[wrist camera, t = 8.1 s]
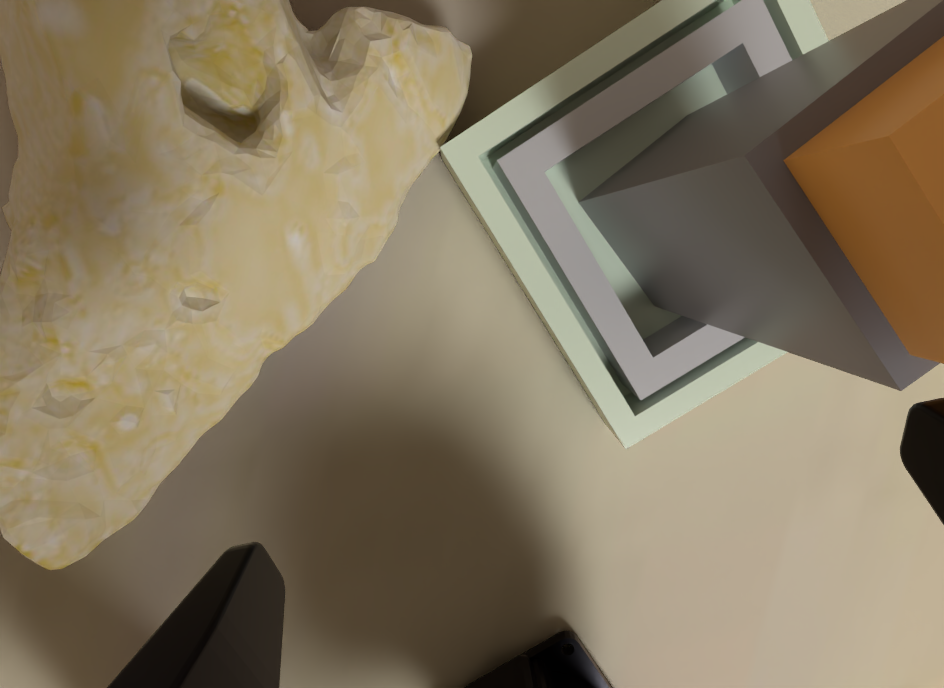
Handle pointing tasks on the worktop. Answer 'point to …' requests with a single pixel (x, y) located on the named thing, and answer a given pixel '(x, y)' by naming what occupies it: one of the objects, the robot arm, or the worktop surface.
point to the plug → (805, 204)
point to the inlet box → (590, 164)
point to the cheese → (184, 225)
